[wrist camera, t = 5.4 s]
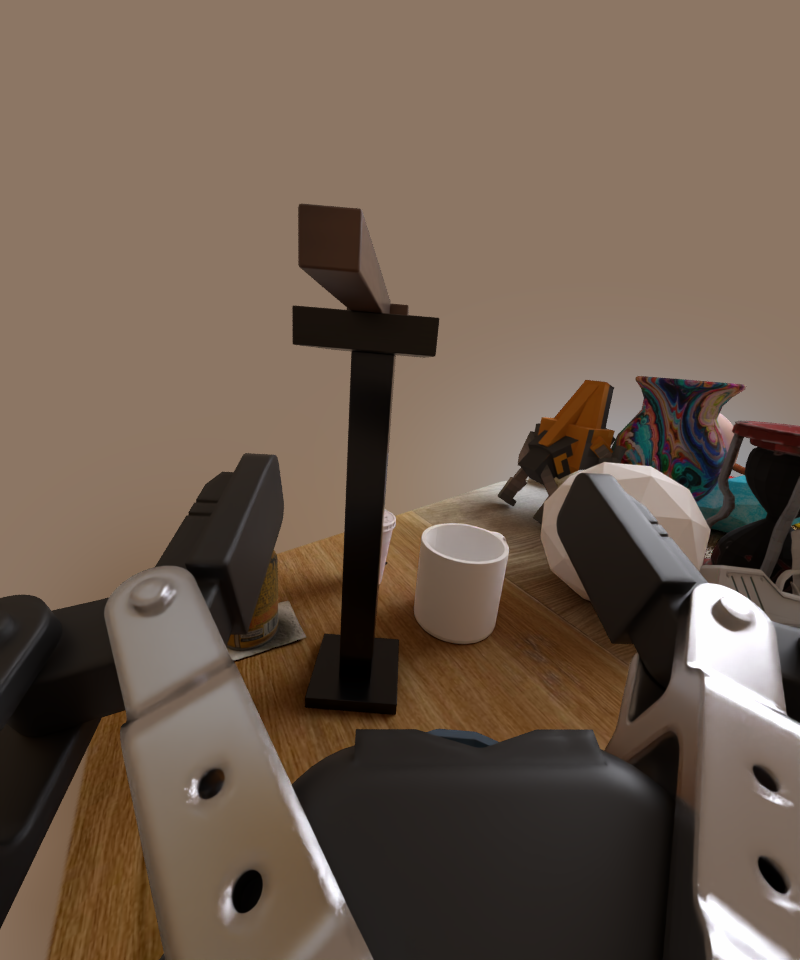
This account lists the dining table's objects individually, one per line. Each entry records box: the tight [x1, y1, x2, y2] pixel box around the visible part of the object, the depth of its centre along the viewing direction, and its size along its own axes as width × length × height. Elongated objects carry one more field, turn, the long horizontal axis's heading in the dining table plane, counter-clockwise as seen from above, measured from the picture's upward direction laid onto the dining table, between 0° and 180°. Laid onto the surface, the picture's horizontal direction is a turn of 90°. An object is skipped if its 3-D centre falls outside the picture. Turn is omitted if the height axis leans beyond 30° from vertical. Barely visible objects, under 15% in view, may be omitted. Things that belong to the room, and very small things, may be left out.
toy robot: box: [498, 380, 627, 524], centre depth 79 cm, size 27×16×30 cm
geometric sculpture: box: [540, 462, 711, 601], centre depth 51 cm, size 19×20×20 cm
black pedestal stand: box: [293, 306, 439, 715], centre depth 32 cm, size 8×14×32 cm, turn 179°
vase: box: [611, 376, 747, 502], centre depth 73 cm, size 18×18×30 cm
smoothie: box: [379, 510, 396, 584], centre depth 51 cm, size 6×6×14 cm
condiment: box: [226, 550, 306, 661], centre depth 40 cm, size 7×8×12 cm
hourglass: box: [702, 421, 800, 594], centre depth 53 cm, size 16×16×25 cm
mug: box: [414, 523, 509, 644], centre depth 46 cm, size 13×10×10 cm
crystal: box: [696, 475, 800, 533], centre depth 78 cm, size 12×14×30 cm
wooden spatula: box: [298, 204, 408, 315], centre depth 21 cm, size 4×23×2 cm, turn 179°
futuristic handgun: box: [699, 529, 800, 629], centre depth 44 cm, size 3×20×15 cm
